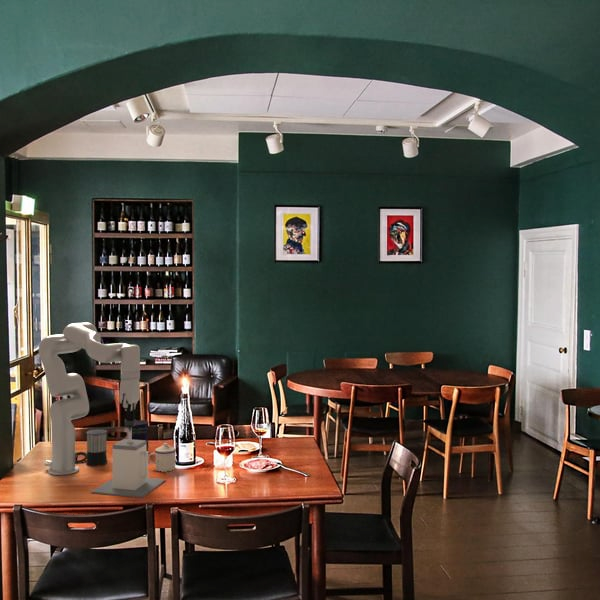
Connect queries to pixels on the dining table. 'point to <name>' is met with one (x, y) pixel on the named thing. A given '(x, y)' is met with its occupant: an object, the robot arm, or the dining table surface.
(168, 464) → the teacup with lid
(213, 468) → the dining table surface
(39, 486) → the dining table surface
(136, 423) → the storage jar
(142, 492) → the slate mat
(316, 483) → the dining table surface
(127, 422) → the plunger
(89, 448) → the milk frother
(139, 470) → the box
